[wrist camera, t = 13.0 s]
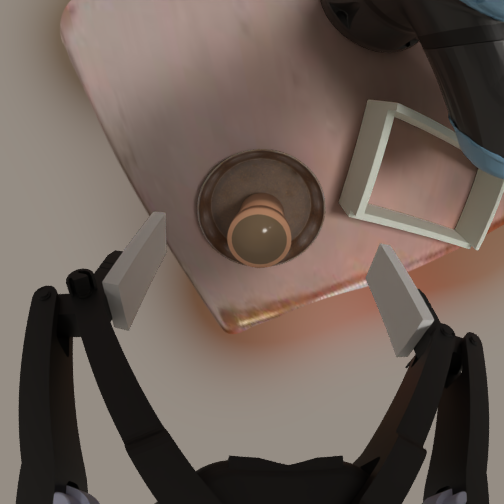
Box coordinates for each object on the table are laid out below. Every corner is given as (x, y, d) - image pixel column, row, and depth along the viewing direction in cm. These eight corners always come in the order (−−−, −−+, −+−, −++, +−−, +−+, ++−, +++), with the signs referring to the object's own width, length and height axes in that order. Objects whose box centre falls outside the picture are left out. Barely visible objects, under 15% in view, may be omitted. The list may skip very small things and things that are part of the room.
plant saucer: (304, 130, 34) (308, 133, 32) (330, 240, 43) (335, 250, 41) (182, 169, 37) (177, 175, 35) (225, 268, 46) (224, 279, 44)
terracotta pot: (245, 182, 35) (237, 201, 28) (295, 199, 36) (301, 222, 29) (229, 228, 39) (219, 257, 32) (277, 244, 39) (278, 275, 32)
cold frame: (367, 99, 31) (398, 102, 23) (484, 158, 33) (517, 176, 26) (338, 202, 39) (358, 230, 32) (455, 235, 42) (481, 261, 34)
